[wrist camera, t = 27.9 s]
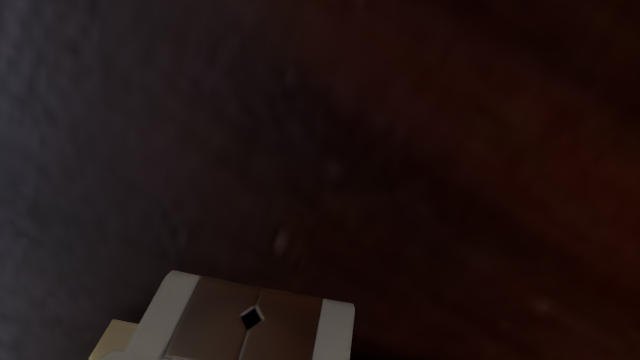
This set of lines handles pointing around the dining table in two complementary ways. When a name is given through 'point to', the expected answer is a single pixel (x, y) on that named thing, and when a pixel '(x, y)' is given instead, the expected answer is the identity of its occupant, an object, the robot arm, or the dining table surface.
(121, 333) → the drawer
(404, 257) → the dining table surface
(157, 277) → the dining table surface
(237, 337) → the robot arm
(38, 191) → the dining table surface
